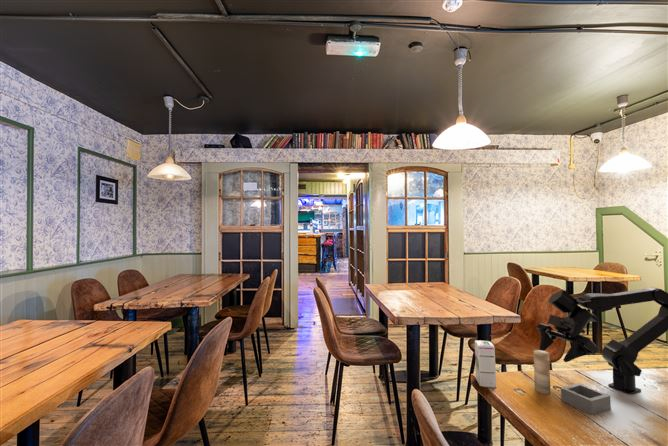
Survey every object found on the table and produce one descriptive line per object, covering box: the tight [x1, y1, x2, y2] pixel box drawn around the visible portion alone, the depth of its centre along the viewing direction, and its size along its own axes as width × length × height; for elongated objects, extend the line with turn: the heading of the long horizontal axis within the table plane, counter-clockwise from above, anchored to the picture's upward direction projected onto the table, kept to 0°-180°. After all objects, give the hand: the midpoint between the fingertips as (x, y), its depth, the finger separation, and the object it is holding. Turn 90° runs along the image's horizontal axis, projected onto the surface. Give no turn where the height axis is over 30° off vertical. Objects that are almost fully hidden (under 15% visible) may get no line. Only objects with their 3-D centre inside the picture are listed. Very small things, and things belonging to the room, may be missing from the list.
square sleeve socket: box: [560, 382, 612, 416], centre depth 98 cm, size 9×9×4 cm
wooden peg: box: [533, 349, 551, 395], centre depth 107 cm, size 4×4×13 cm
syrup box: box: [474, 339, 497, 388], centre depth 113 cm, size 6×6×14 cm
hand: (551, 356), depth 109 cm, fingers open, 9 cm apart
